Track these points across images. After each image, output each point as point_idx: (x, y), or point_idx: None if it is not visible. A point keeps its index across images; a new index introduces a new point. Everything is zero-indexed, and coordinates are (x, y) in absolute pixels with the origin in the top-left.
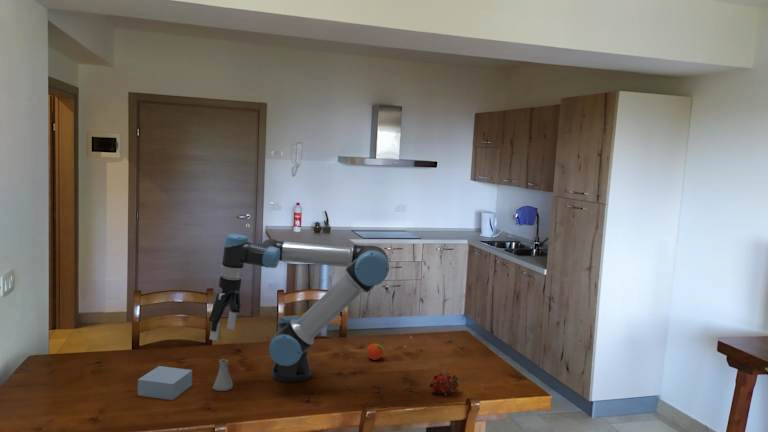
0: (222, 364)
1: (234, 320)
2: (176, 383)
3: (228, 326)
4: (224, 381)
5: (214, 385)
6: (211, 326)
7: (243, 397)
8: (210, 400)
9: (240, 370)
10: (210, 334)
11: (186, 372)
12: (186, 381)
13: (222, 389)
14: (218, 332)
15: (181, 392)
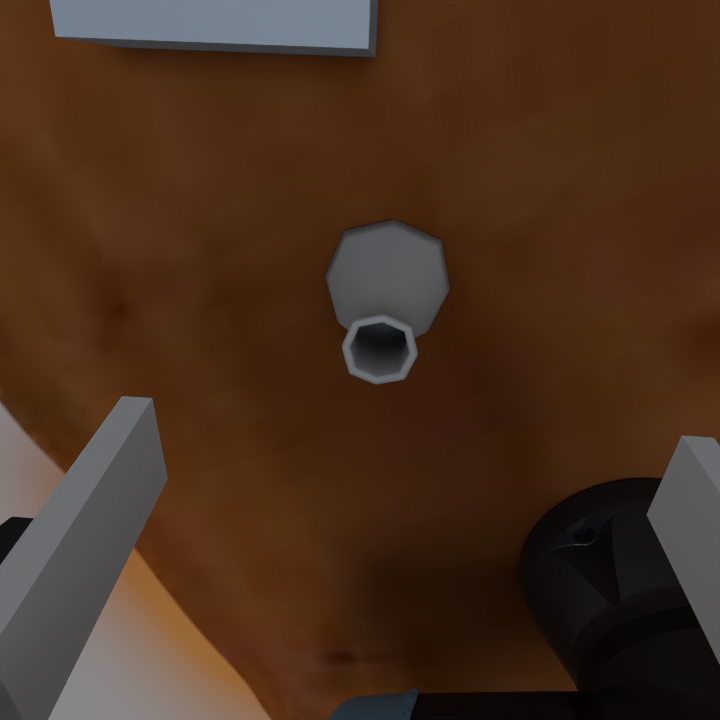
0: (351, 345)
1: (716, 643)
2: (116, 39)
3: (692, 478)
4: (345, 323)
5: (344, 248)
6: (15, 550)
7: (293, 425)
8: (203, 280)
9: (686, 288)
10: (93, 446)
11: (304, 22)
12: (284, 49)
13: (332, 302)
14: (119, 565)
15: (228, 51)
